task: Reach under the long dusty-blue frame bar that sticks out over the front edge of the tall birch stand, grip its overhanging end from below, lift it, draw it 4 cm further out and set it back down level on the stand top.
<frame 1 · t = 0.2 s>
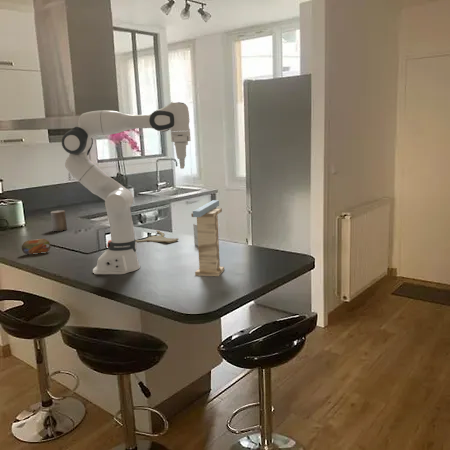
hand: (182, 167, 218), 48 cm above the worktop, tool pointing down, fingers open, 8 cm apart
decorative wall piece: (157, 240, 286), on the worktop
pillar candle: (59, 230, 326), on the worktop
stand: (209, 272, 215), on the worktop
supplement box: (202, 245, 267), on the worktop
tin: (37, 254, 263), on the worktop
frame bar: (206, 210, 209), point 29 cm above the worktop, touching stand
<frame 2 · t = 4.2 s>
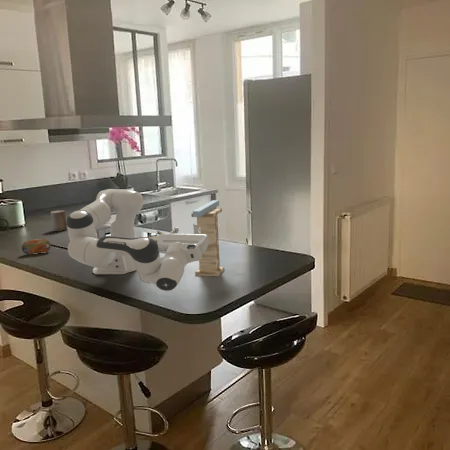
hand: (187, 228, 185), 26 cm above the worktop, tool pointing upward, fingers open, 8 cm apart
nothing on the worktop moved.
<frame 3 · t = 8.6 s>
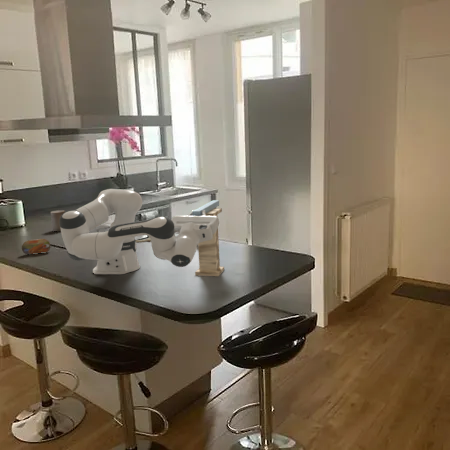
hand: (198, 211, 198), 31 cm above the worktop, tool pointing upward, fingers closed on frame bar, 3 cm apart
frame bar: (206, 210, 209), point 29 cm above the worktop, touching gripper, stand
everything else where it was.
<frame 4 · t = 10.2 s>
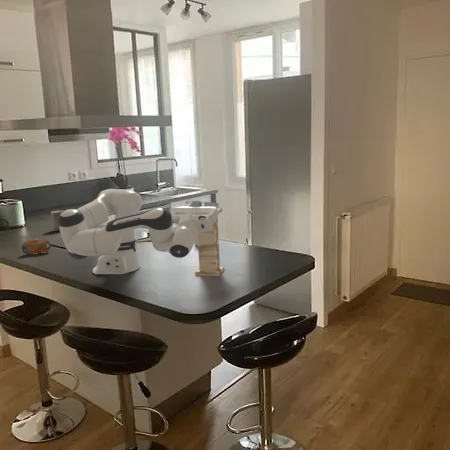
hand: (198, 202, 197), 35 cm above the worktop, tool pointing upward, fingers closed on frame bar, 3 cm apart
frame bar: (206, 207, 208), point 31 cm above the worktop, tilted 11°, touching gripper
everything else where it was.
when the fingers open (32 cm above the worktop, at t = 11.7 s): frame bar stays where it is, resting on stand.
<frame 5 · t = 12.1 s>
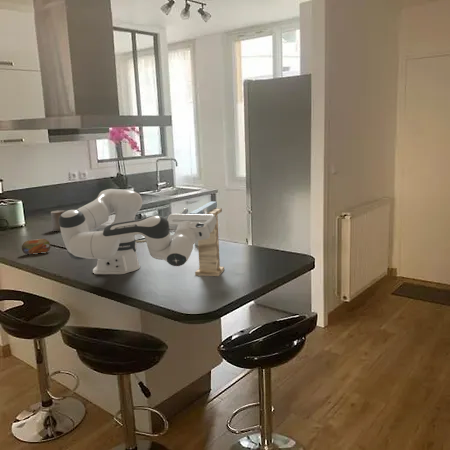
hand: (195, 209, 194), 32 cm above the worktop, tool pointing upward, fingers open, 7 cm apart
frame bar: (204, 212, 205), point 29 cm above the worktop, touching stand
everything else where it was.
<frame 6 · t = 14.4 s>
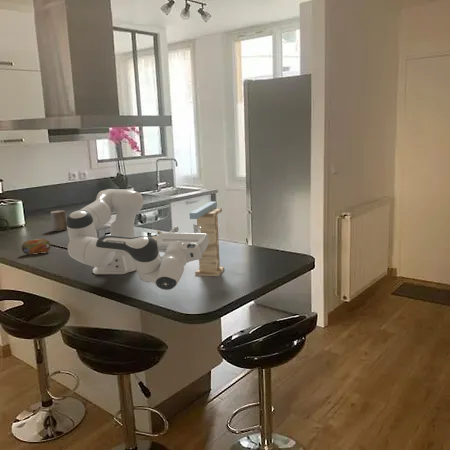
hand: (187, 227, 185), 27 cm above the worktop, tool pointing upward, fingers open, 8 cm apart
nothing on the worktop moved.
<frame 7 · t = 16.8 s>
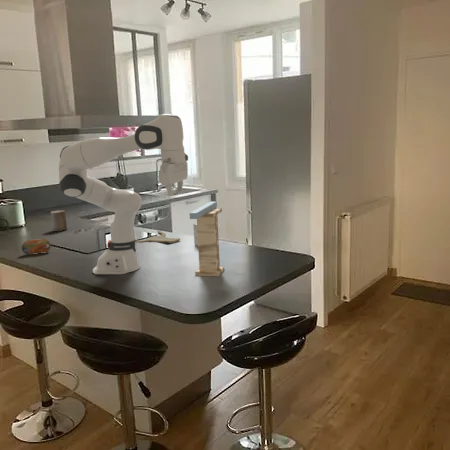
hand: (175, 194, 178), 41 cm above the worktop, tool pointing down, fingers open, 8 cm apart
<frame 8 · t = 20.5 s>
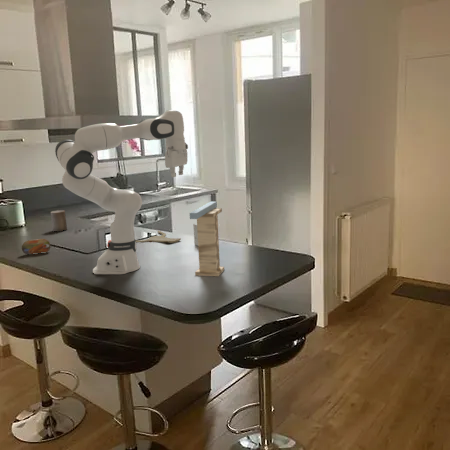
hand: (177, 175, 219), 44 cm above the worktop, tool pointing down, fingers open, 8 cm apart
at the end: frame bar 0.4 cm from the target spot on the stand, point 29.0 cm above the stand's base; frame bar tilted 0°; the gripper is holding nothing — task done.
